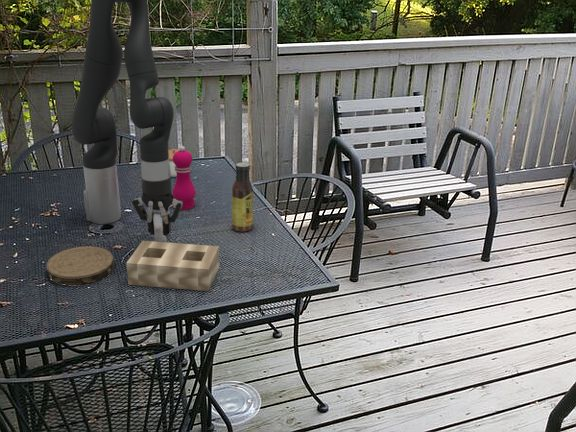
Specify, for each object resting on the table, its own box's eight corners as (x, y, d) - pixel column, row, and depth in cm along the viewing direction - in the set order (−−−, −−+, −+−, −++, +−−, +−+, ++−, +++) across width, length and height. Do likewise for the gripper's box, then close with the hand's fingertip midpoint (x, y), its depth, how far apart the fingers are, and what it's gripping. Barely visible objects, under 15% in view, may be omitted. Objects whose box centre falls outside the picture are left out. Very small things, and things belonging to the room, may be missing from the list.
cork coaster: (91, 250, 157) (89, 240, 156) (127, 270, 148) (126, 260, 147) (35, 272, 146) (34, 261, 145) (70, 294, 137) (69, 284, 136)
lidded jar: (160, 179, 206) (158, 154, 202) (160, 169, 216) (158, 145, 212) (190, 178, 208) (189, 153, 205) (189, 168, 218) (188, 144, 214)
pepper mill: (168, 208, 184) (165, 147, 176) (180, 200, 190) (178, 141, 182) (188, 212, 182) (186, 151, 173) (200, 203, 188) (198, 144, 179)
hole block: (128, 284, 141) (126, 263, 139) (144, 260, 152) (142, 240, 150) (209, 291, 140) (208, 269, 137) (219, 266, 151) (218, 246, 148)
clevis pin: (150, 250, 158) (147, 210, 153) (155, 243, 162) (152, 204, 157) (166, 251, 157) (163, 211, 152) (170, 244, 161) (168, 205, 156)
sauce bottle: (249, 233, 169) (250, 169, 161) (229, 231, 170) (228, 167, 162) (255, 224, 175) (256, 162, 167) (235, 222, 176) (235, 160, 168)
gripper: (124, 178, 148) (130, 238, 155) (178, 181, 147) (181, 242, 154) (134, 168, 155) (139, 226, 162) (186, 171, 154) (188, 230, 161)
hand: (160, 234), depth 158 cm, fingers closed on clevis pin, 3 cm apart
